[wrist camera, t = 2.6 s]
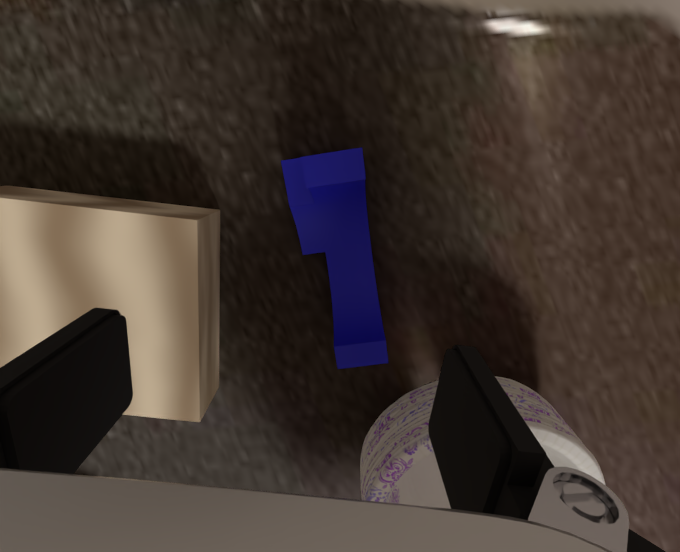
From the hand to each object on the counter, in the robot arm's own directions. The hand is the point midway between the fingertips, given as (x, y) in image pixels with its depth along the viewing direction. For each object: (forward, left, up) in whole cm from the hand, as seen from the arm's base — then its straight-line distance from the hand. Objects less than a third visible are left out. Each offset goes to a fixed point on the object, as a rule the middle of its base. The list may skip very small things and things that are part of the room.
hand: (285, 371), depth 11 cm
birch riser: (+14, +5, -15) cm, 21 cm away
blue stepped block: (-1, 0, -16) cm, 16 cm away
